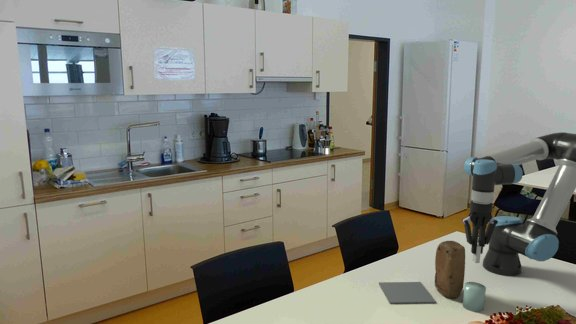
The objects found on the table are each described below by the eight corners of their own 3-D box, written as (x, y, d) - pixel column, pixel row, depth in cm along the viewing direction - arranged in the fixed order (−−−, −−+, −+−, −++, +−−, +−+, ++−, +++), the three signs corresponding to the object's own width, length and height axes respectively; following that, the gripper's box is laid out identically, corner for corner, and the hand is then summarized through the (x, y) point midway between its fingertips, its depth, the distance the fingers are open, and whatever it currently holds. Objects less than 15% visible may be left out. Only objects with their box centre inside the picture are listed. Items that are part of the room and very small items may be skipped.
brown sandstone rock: (464, 298, 161) (468, 247, 157) (446, 300, 159) (450, 249, 156) (447, 285, 171) (450, 237, 168) (430, 287, 169) (433, 238, 166)
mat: (420, 283, 173) (420, 281, 173) (435, 303, 157) (435, 301, 157) (378, 283, 172) (378, 282, 172) (389, 303, 156) (389, 302, 156)
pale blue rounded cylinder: (478, 302, 158) (479, 281, 157) (487, 311, 151) (489, 290, 150) (459, 302, 158) (461, 281, 156) (468, 312, 151) (470, 291, 150)
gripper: (493, 198, 163) (487, 257, 167) (460, 198, 163) (454, 257, 167) (504, 204, 156) (497, 265, 160) (469, 204, 155) (463, 265, 159)
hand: (475, 261), depth 163 cm, fingers closed
